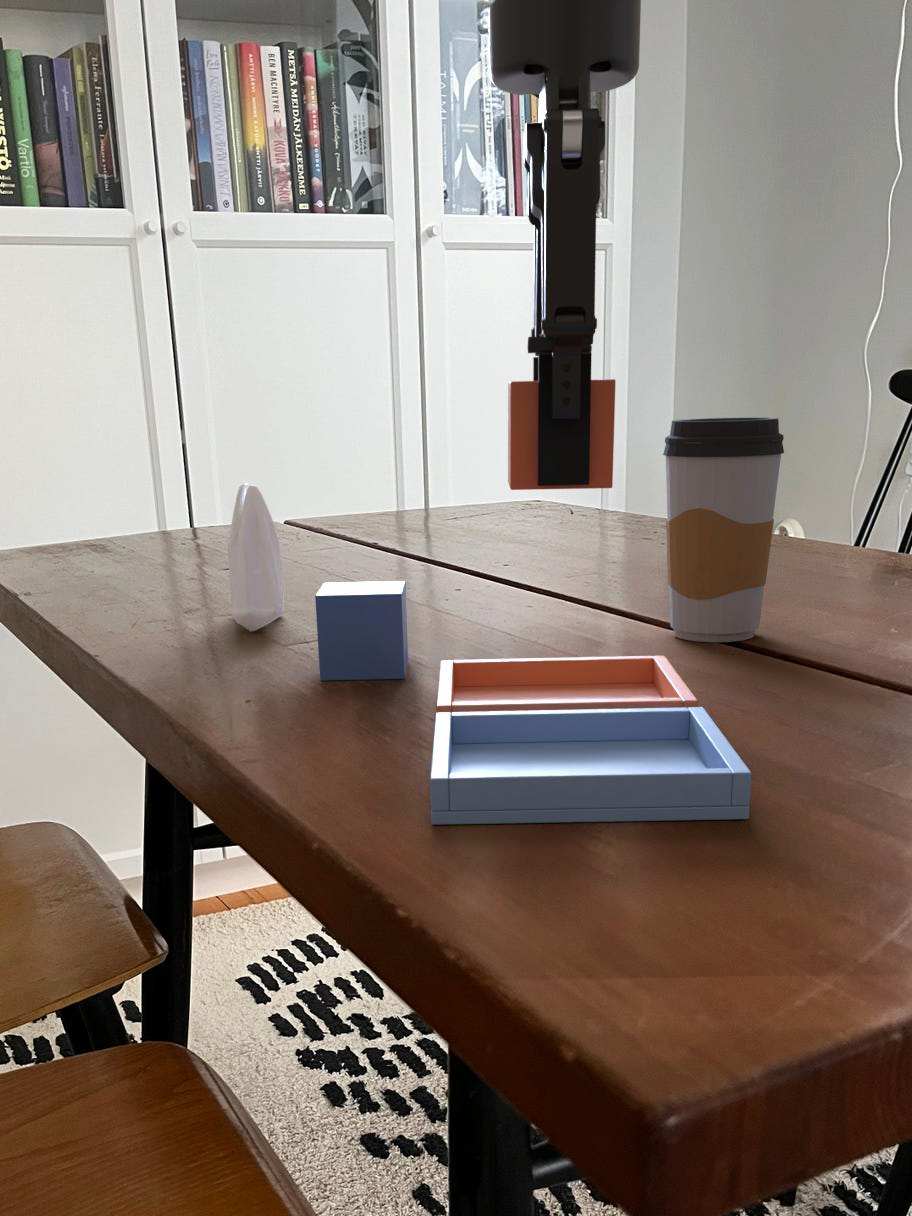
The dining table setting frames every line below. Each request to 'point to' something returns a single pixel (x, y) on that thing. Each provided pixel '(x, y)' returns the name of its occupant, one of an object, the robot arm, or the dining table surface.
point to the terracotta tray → (561, 684)
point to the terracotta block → (526, 436)
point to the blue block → (362, 630)
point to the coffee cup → (720, 523)
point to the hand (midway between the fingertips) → (559, 479)
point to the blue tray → (584, 767)
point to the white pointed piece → (254, 562)
